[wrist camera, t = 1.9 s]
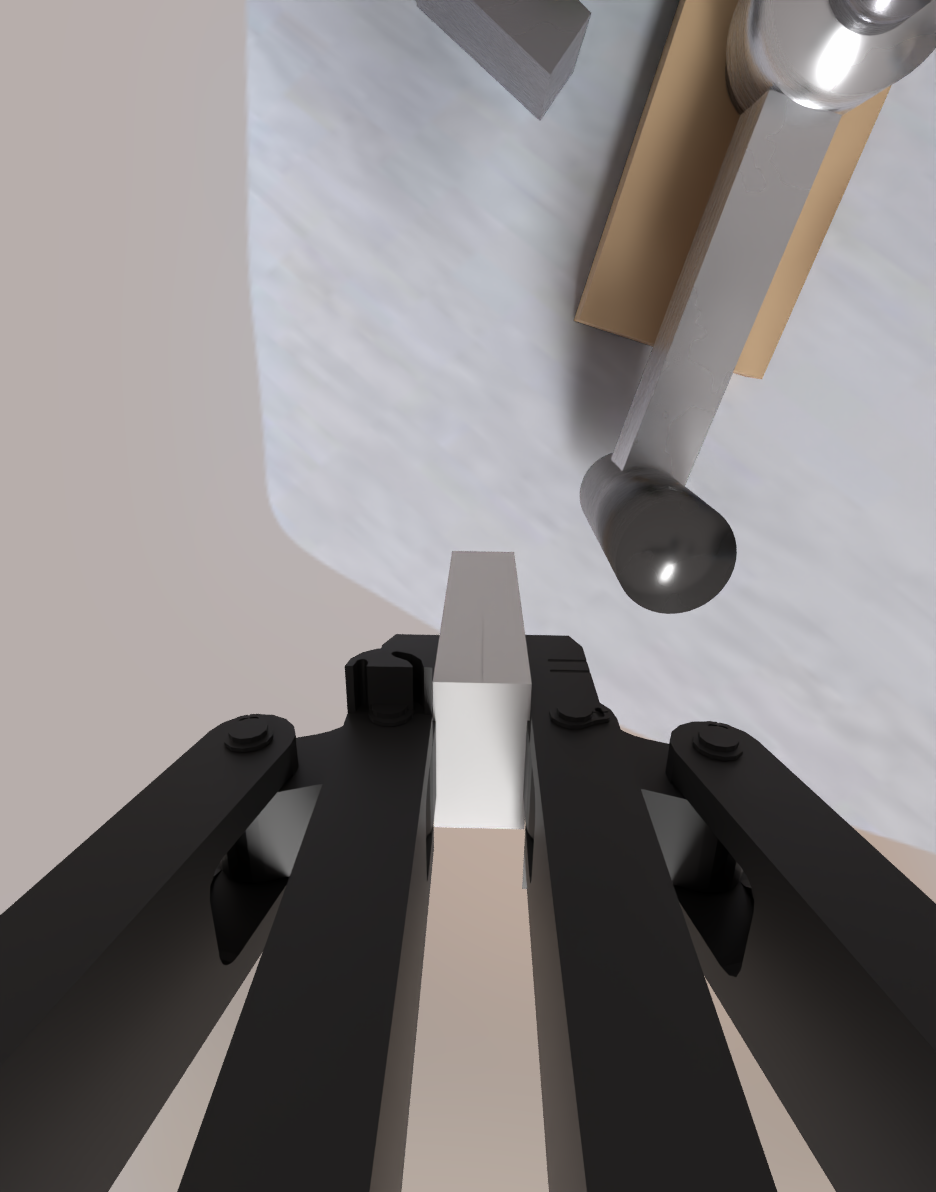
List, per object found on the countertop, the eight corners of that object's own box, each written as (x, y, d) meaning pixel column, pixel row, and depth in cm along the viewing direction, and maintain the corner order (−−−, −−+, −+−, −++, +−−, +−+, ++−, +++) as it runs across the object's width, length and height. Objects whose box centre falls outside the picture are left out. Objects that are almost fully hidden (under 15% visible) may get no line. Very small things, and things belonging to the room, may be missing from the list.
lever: (871, -391, 19) (1167, -959, 11) (1034, -323, 19) (1443, -819, 11) (550, 515, 29) (574, 588, 21) (662, 549, 29) (730, 634, 21)
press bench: (970, -148, 23) (1012, -191, 21) (744, 376, 30) (761, 379, 28) (756, -233, 23) (780, -284, 21) (573, 320, 29) (579, 319, 27)
